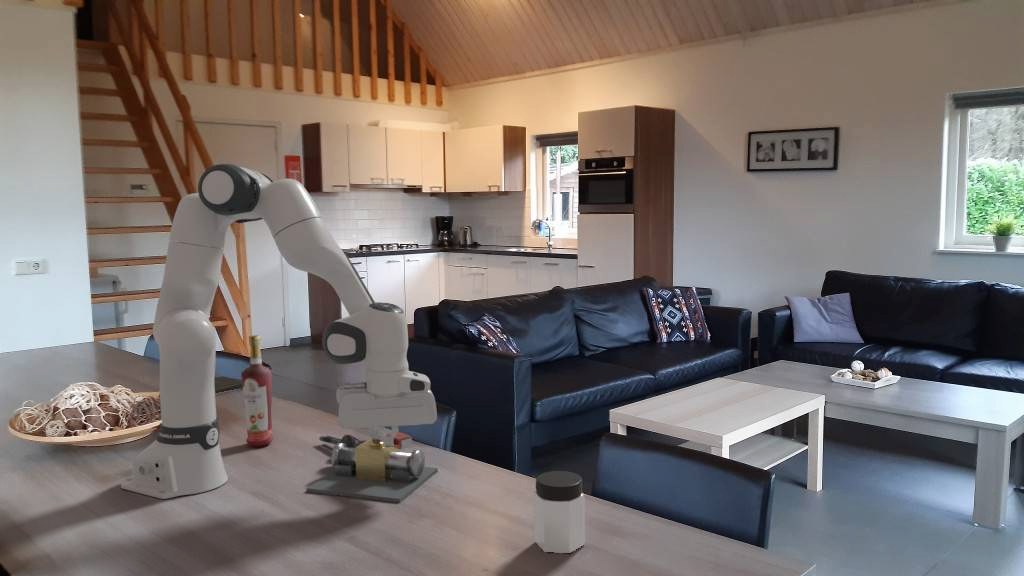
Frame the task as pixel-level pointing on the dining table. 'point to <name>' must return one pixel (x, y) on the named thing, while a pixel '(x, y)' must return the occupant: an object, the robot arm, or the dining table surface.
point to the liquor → (257, 397)
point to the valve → (342, 440)
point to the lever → (399, 440)
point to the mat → (369, 486)
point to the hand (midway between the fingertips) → (388, 446)
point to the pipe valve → (377, 462)
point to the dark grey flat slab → (226, 384)
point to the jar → (559, 512)
